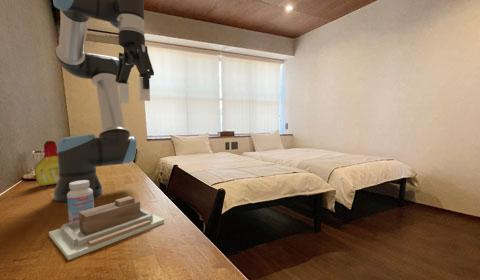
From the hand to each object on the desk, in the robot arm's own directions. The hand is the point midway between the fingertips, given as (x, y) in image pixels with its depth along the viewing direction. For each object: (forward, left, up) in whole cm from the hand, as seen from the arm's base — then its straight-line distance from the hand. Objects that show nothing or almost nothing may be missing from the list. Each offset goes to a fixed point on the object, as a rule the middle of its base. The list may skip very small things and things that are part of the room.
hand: (134, 102), depth 71 cm
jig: (+9, -12, -35) cm, 38 cm away
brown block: (+9, -12, -34) cm, 37 cm away
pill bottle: (-3, -15, -35) cm, 38 cm away
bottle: (-59, -10, -35) cm, 69 cm away
